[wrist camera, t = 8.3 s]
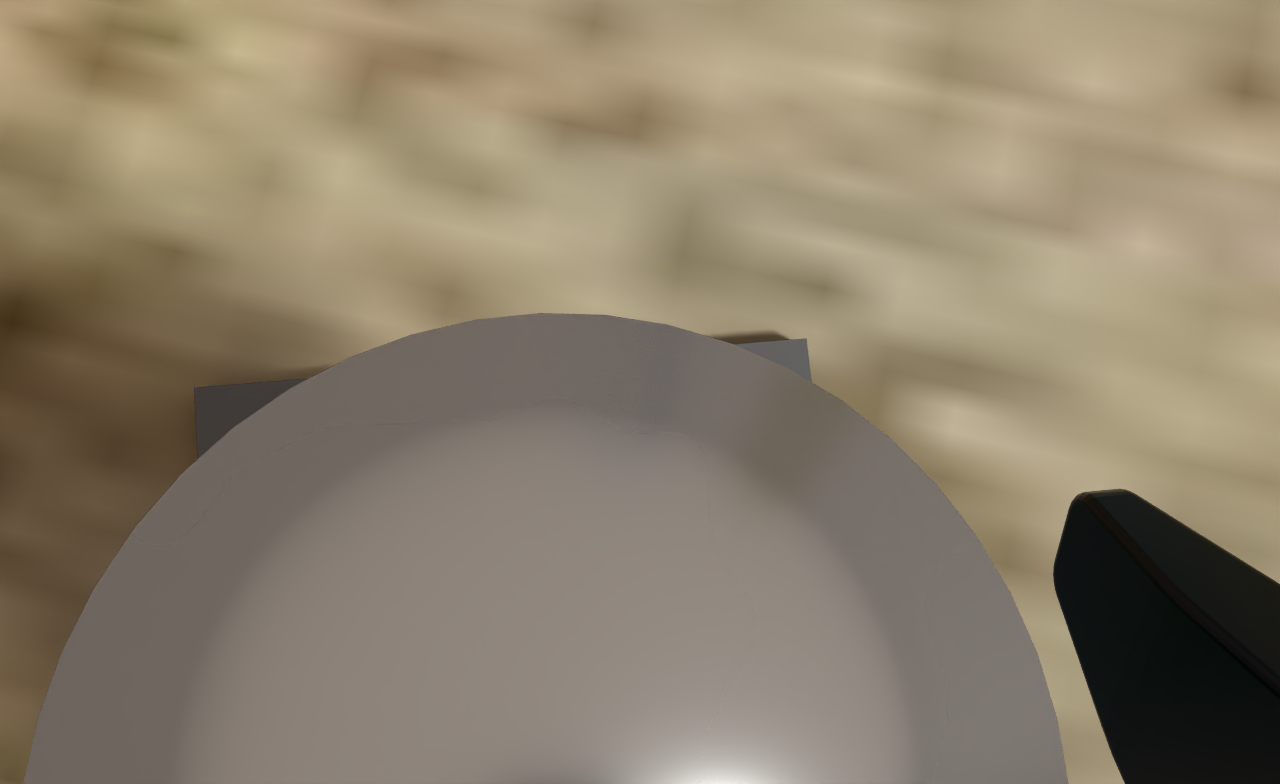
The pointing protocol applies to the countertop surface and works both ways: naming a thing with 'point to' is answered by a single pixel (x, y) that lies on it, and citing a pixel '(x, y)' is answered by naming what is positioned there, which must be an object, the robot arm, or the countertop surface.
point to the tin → (551, 586)
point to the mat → (239, 401)
